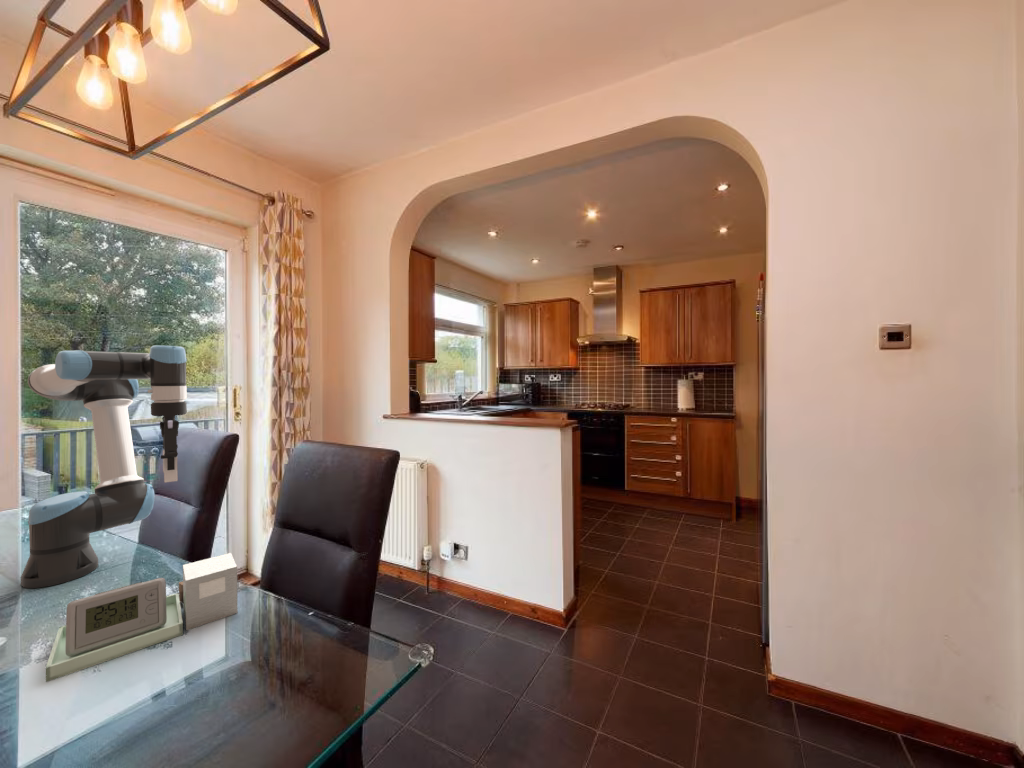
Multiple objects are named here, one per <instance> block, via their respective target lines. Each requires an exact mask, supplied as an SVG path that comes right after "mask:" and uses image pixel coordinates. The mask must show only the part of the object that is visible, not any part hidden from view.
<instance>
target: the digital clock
mask: <svg viewBox="0 0 1024 768" xmlns="http://www.w3.org/2000/svg"><path fill="white" fill-rule="evenodd" d="M166 596H167V581H166V579H165V578H164V577H158V578H155V579H150V580H147V581H140V582H137V583H132V584H129V585H124V586H121V587H117V588H114V589H109V590H107V591H102V592H98V593H94V595H90V596H85V597H81V598H78V599H74V600H72V601H70V602H69V603H67V606H66V612H65V613H66V615H65V616H66V619H65V621H66V622H65V623H66V624H65V625H66V649H65V651H66V655H67V656H73V655H77V654H80V653H83V652H86V651H89V650H90V651H93V650H96V649H99V648H102V647H105V646H108V645H112V644H115V643H118V642H121V641H124V640H127V639H130V638H133V637H136V636H139V635H142V634H145V633H146V632H147V631H150V630H153V629H156V628H159V627H162V626H164V625H165V624H166V621H167V612H166Z"/></svg>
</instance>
